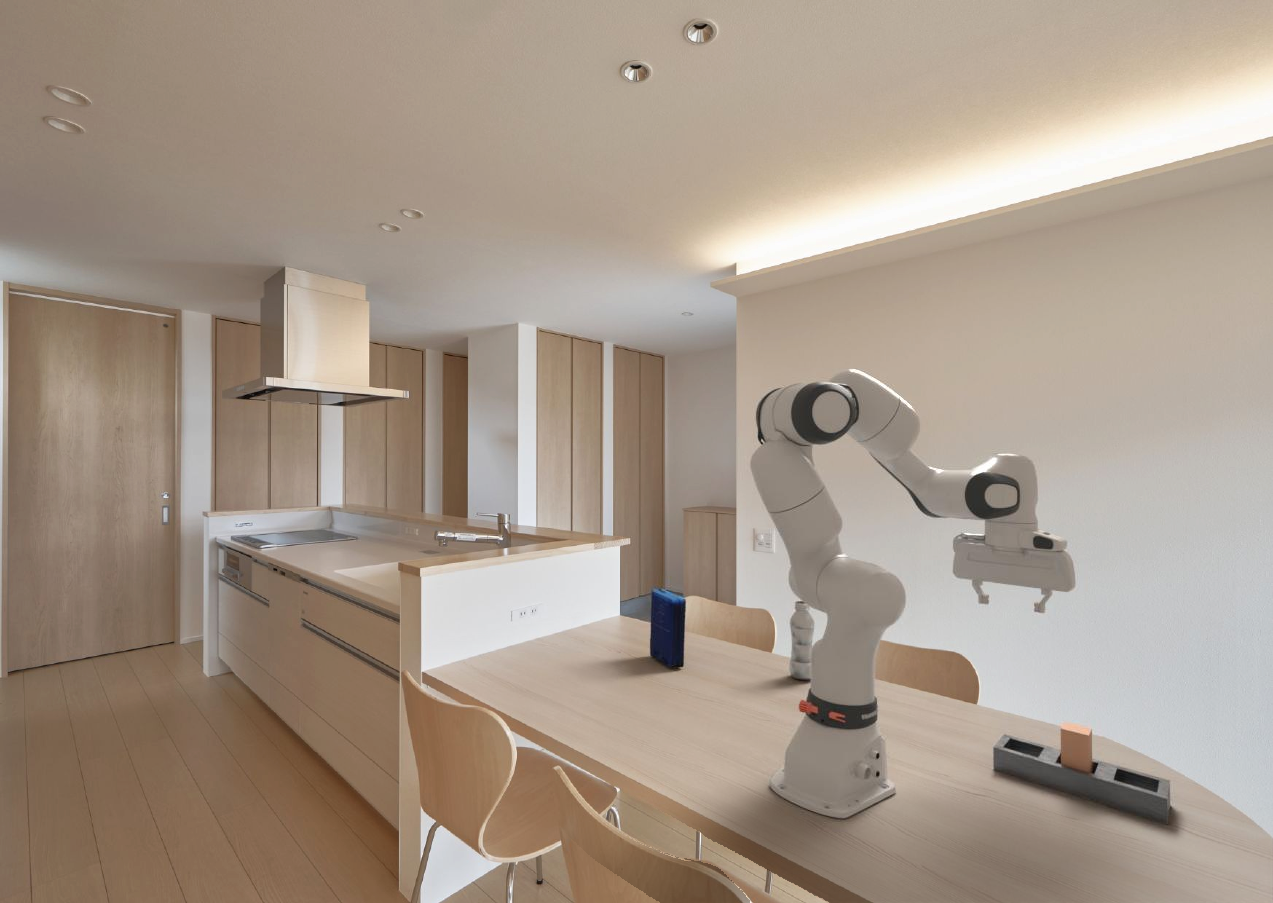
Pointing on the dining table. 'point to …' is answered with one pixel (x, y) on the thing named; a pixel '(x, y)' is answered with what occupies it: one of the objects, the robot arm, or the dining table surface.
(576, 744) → the dining table surface
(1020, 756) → the rail
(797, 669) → the plastic bottle
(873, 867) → the dining table surface
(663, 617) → the blue upright rectangular block
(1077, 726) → the peg
